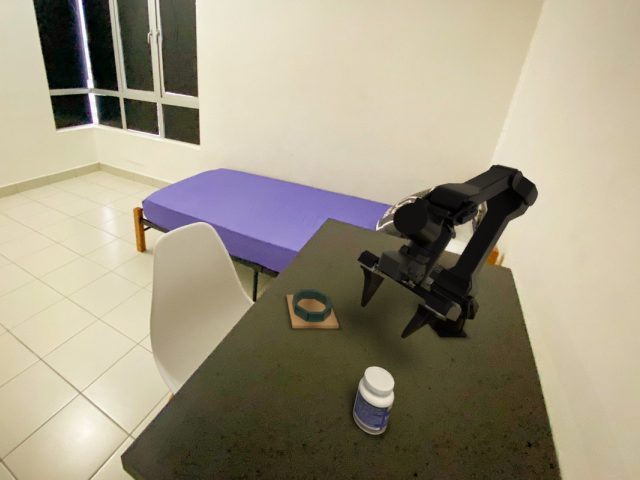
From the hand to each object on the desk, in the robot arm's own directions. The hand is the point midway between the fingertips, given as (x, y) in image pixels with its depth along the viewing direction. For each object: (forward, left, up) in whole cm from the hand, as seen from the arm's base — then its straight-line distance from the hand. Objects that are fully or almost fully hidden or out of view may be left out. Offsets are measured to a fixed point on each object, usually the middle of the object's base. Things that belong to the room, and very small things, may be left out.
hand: (381, 321), depth 62 cm
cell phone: (-33, -34, -14) cm, 49 cm away
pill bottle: (+3, +9, -14) cm, 17 cm away
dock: (+8, -18, -14) cm, 24 cm away
